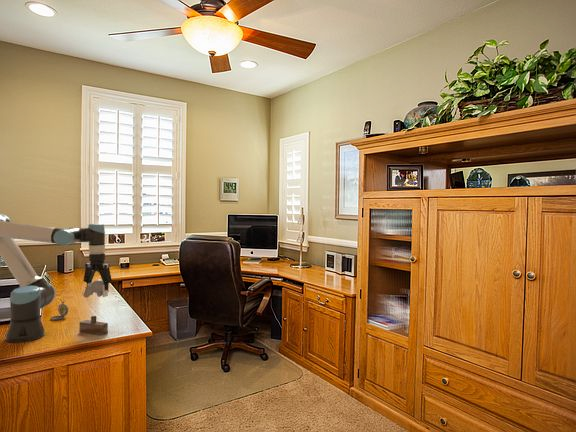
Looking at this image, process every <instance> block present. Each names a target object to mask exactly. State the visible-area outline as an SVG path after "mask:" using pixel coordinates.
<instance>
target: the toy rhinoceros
mask: <svg viewBox="0 0 576 432" xmlns="http://www.w3.org/2000/svg"><path fill="white" fill-rule="evenodd" d="M91 283H92V284H91V287H87V286H84V288H85V289H84V292H81V295H82V296H83V297H84V298H85V299H86V298H87V299H88V298H89V297H90V296H92V295H91V294H93V295H94V294H96V295H97V296H98V297H103V284H104V283H103V280H102V279H100V278H99V279H95V280H94V281H93V282H91ZM108 293H109V289H108Z"/></svg>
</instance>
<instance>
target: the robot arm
mask: <svg viewBox="0 0 576 432" xmlns="http://www.w3.org/2000/svg"><path fill="white" fill-rule="evenodd" d="M105 237H106V230H105V224H104V223H89V224H88V226H87V227H65V228H59V227H51V226H44V225H36V224H29V223H28V224H27V223H20V222H13V221H11V218H9V217H8V216H7V215H6V214H4V213H0V258H1V259H2V261H3V262H4V264H5V265H6V267H7V269H9V271H10V272H11V275H13V278H14V280H15V281H16V282H17V283H18V285H19V287H17V288H14V289H13V290H12V291H11V292H10V298H9V301H10V305H9V307H10V308H9V310H10V323H9V326H8V329H7V332H6V334H5V342H8V343H26V342H30V341H35V340H37V339H38V340H39V339H40V338H42V337H43V336H45V328H44V326H43V323H42V321H41V309H43V308H44V307H46V306H48V305H50V304H51V303H52V302H53V301H54V300H55V298H56V289H55V287H54V286H53V285H52V284H51V283H49V282H47V281H46V280H45V278H44V277H42V276H39V275H38V274H37V273H36V271H35V269H34V268H33V266H32V265H31V263H30V262H29V259H27V257H26V256H25V254H24V253H23V251H22V249H21V248H20V247H19V245H18V244H17V242H16V240H15V239H17V240H24V241H30V242H31V241H32V242H41V243H42V242H43V243H49V244H56V245H59V246H68V245H71V244H75V243H76V244H77V243H88V253H89V254H88V260H89V262H86V263H85V264H84V266H85V268H84V276H83V282H84V283H86V287H91V284H92V283H93V282H94V281H93V279H94V277H95V275H96V272H97V273H98V274H99V275H100V278H101V280H103V283H104V284H103V295H102V298H106V297H108V296H109V292H108V290H109V288H110V287H109V285H110V284H111V283H112V282H113V279H112V275H111V270H110V263H106V262H105V260H106V253H105V252H106V238H105ZM93 295H94V293H93V294H91V295H90V296H93Z"/></svg>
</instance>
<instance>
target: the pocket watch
mask: <svg viewBox="0 0 576 432" xmlns="http://www.w3.org/2000/svg"><path fill="white" fill-rule="evenodd" d="M57 310H58V314H59V315H55V316H51V317H50V320H51V321H59V320H63V319H65V316H67V315H68V313H69V307H68V305H66V304H65V300H62V301H61V304H59V305H58V308H57Z"/></svg>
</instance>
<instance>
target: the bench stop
mask: <svg viewBox="0 0 576 432" xmlns="http://www.w3.org/2000/svg"><path fill="white" fill-rule="evenodd" d="M108 325H109V323H108V322H104V321H97V316H96V315H91V316H90V320H89V319H86V320H82V321H79V333H84V334H89V335H97V336H104V335H107V334H109V333H108V332H109V326H108Z"/></svg>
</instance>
